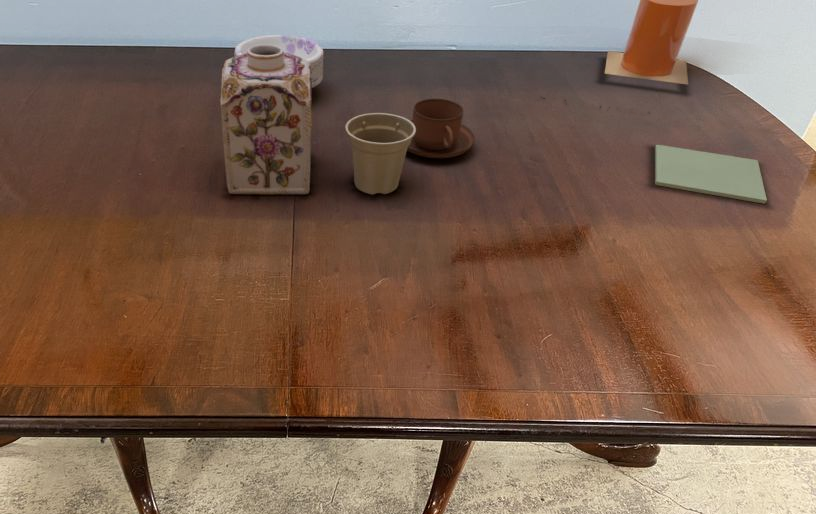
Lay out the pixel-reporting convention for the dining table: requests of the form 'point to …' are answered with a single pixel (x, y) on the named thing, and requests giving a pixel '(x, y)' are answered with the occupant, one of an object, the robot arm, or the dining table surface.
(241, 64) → the decorative jar
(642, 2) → the canister
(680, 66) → the board
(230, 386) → the dining table surface
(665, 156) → the mat
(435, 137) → the cup and saucer
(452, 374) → the dining table surface
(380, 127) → the flower pot
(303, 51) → the white floral bowl
